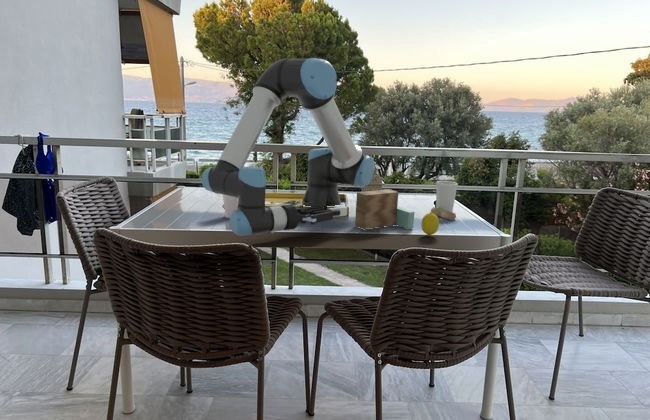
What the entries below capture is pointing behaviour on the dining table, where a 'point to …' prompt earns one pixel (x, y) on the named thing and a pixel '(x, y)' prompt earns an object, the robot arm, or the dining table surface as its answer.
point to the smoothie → (230, 204)
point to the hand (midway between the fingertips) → (345, 210)
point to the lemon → (430, 224)
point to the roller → (443, 213)
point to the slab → (376, 208)
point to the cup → (445, 195)
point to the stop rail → (405, 218)
